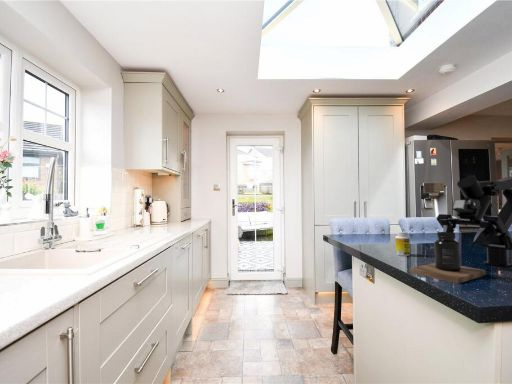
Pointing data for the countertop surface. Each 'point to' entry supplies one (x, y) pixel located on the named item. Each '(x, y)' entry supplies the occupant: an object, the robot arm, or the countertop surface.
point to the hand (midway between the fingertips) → (458, 241)
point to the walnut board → (448, 273)
